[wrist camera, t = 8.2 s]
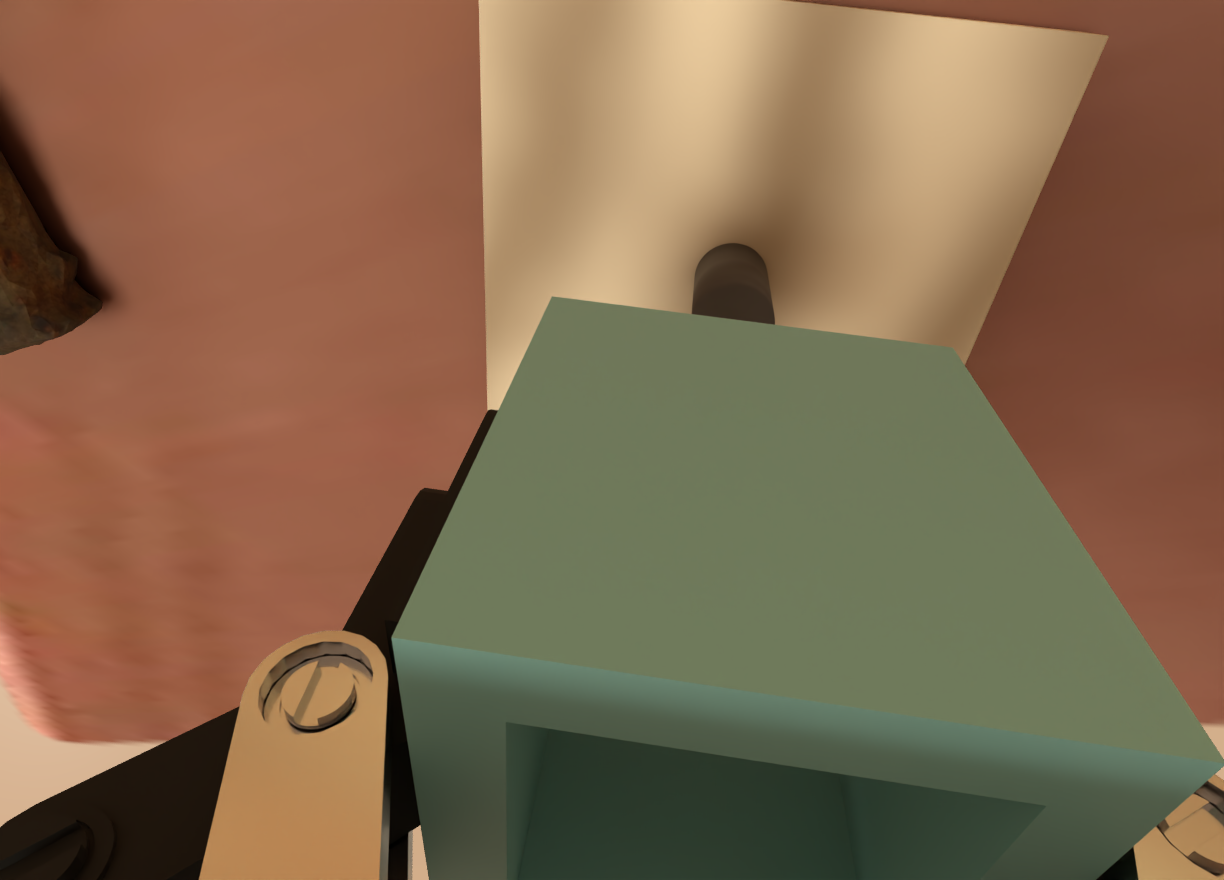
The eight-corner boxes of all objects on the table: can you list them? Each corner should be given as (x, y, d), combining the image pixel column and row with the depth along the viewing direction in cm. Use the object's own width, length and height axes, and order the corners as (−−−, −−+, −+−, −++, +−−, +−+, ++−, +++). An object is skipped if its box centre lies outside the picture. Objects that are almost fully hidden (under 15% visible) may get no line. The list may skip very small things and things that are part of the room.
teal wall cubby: (953, 347, 9) (1226, 763, 4) (839, 617, 13) (925, 1030, 8) (552, 296, 10) (391, 637, 5) (540, 573, 13) (440, 948, 8)
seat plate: (1084, 32, 16) (1304, 65, 10) (828, 644, 28) (857, 820, 22) (492, -32, 16) (366, -37, 11) (499, 591, 29) (443, 747, 23)
